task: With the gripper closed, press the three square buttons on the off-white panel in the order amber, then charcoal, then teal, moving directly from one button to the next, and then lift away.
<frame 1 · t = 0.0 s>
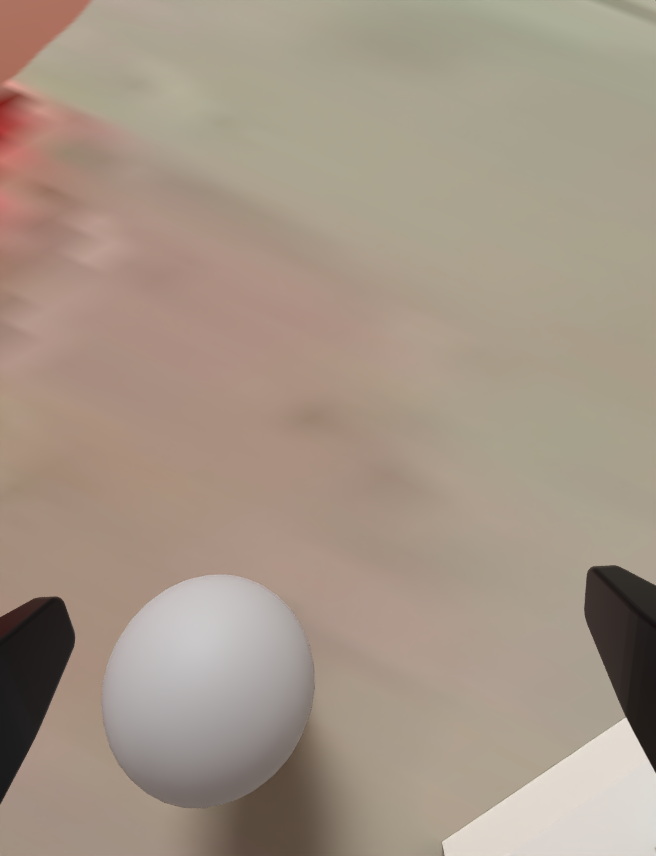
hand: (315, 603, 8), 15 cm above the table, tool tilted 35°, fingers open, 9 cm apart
lightbulb: (271, 632, 23), on the table
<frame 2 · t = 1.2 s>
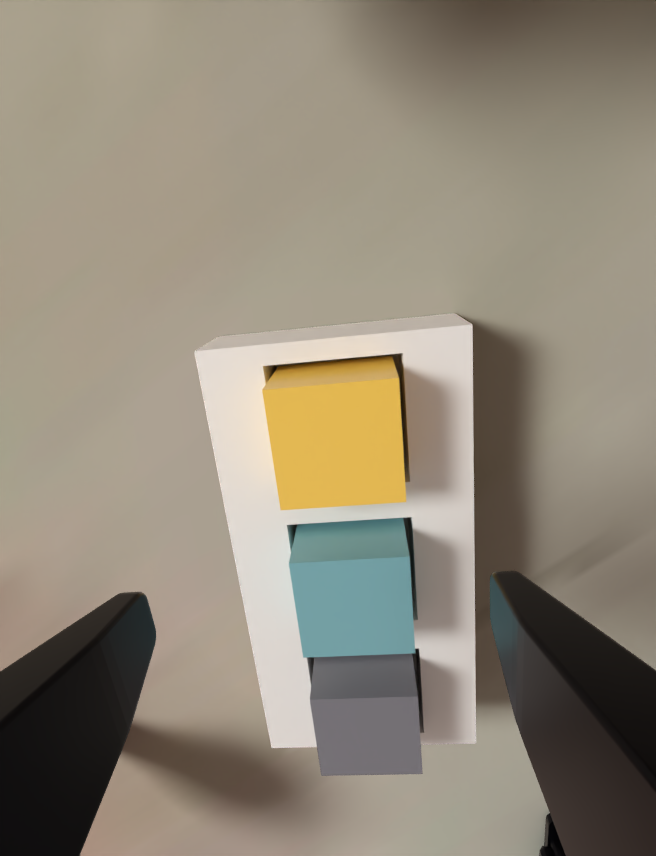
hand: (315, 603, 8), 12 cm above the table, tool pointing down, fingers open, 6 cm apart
teal button: (354, 580, 19), point 3 cm above the table, slide at 0.0 cm
button panel: (354, 531, 22), on the table
amber button: (338, 429, 17), point 3 cm above the table, slide at 0.0 cm
charcoal button: (366, 702, 20), point 3 cm above the table, slide at 0.0 cm
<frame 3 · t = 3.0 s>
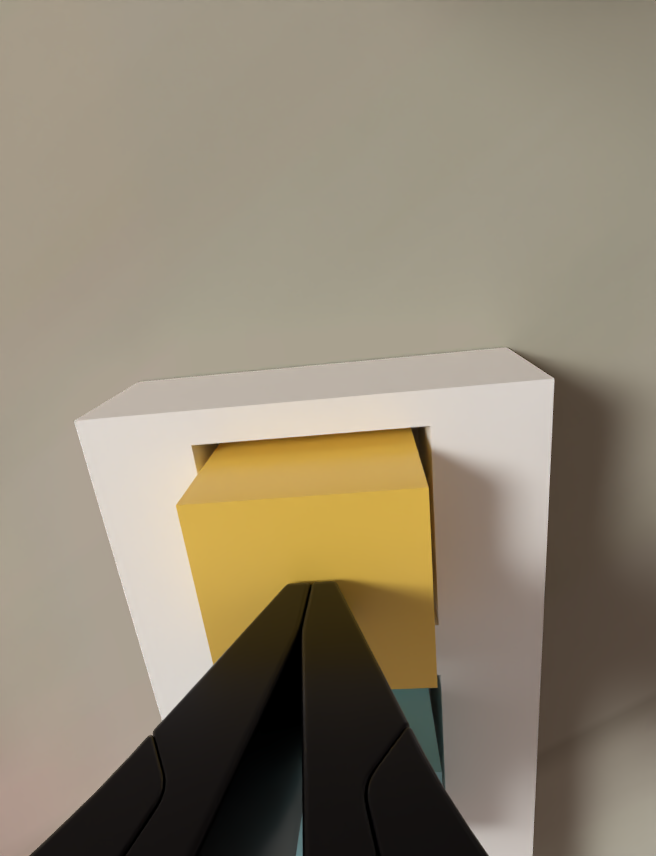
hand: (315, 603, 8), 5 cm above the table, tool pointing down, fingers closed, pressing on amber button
teal button: (348, 766, 12), point 3 cm above the table, slide at 0.0 cm
button panel: (350, 656, 15), on the table
amber button: (320, 548, 10), point 3 cm above the table, slide at 0.1 cm, touching gripper
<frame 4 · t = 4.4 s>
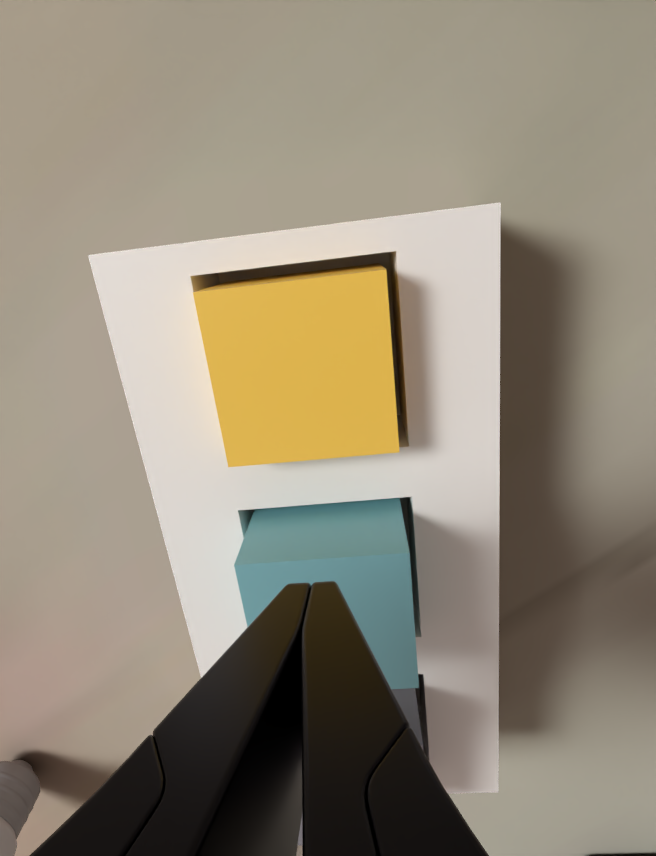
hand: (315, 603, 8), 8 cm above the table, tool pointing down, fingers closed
teal button: (333, 585, 13), point 3 cm above the table, slide at 0.0 cm
lightbulb: (25, 760, 22), on the table
button panel: (336, 519, 17), on the table
amber button: (307, 359, 12), point 2 cm above the table, slide at 1.0 cm
charcoal button: (354, 744, 15), point 3 cm above the table, slide at 0.0 cm
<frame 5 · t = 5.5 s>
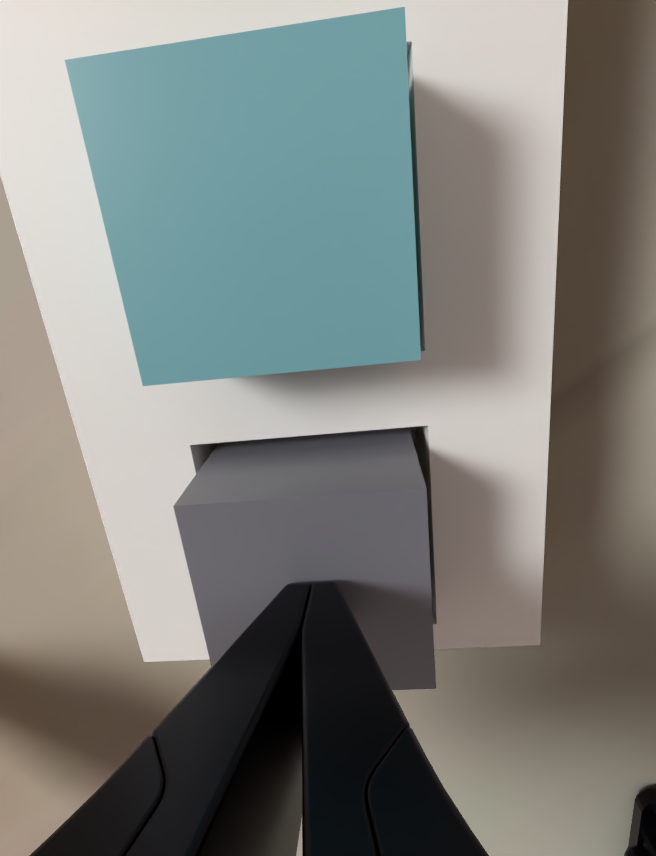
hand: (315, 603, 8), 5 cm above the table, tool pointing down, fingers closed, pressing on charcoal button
teal button: (275, 226, 8), point 3 cm above the table, slide at 0.0 cm
button panel: (299, 233, 11), on the table
charcoal button: (318, 548, 10), point 3 cm above the table, slide at 0.1 cm, touching gripper
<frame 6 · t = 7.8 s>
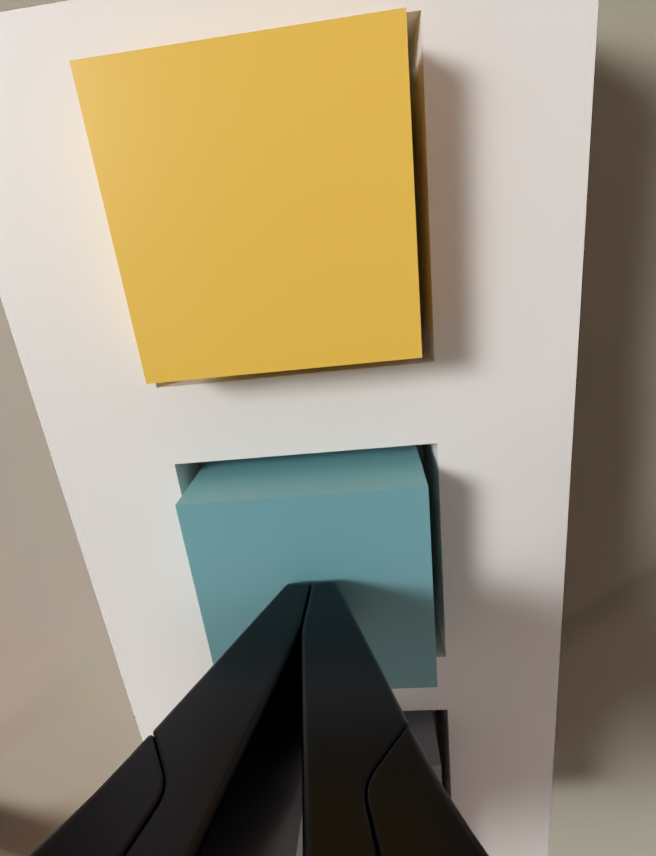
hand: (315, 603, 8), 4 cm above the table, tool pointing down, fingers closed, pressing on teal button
teal button: (320, 547, 10), point 2 cm above the table, slide at 1.0 cm, touching gripper
button panel: (327, 492, 12), on the table
amber button: (277, 225, 8), point 2 cm above the table, slide at 1.0 cm
charcoal button: (349, 761, 12), point 2 cm above the table, slide at 1.0 cm
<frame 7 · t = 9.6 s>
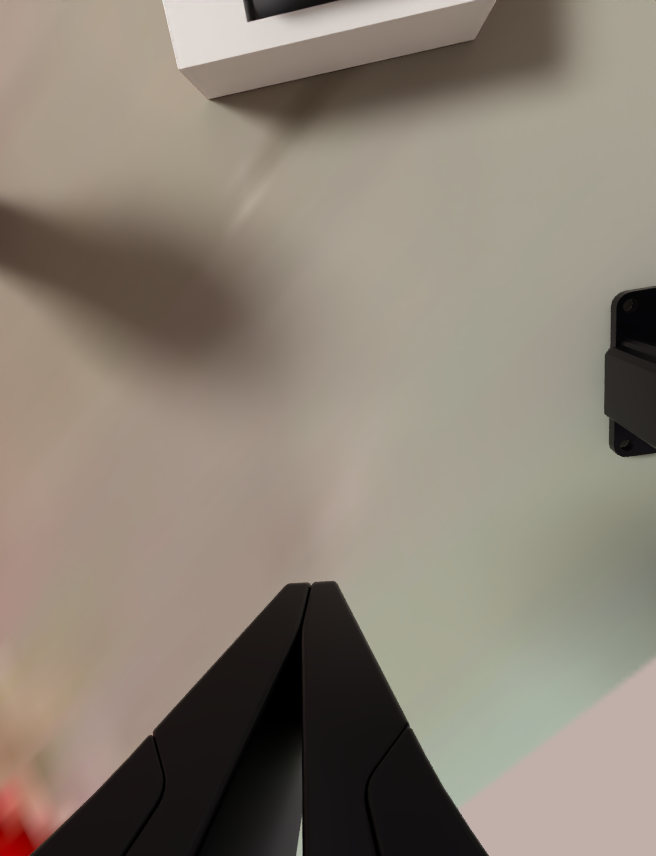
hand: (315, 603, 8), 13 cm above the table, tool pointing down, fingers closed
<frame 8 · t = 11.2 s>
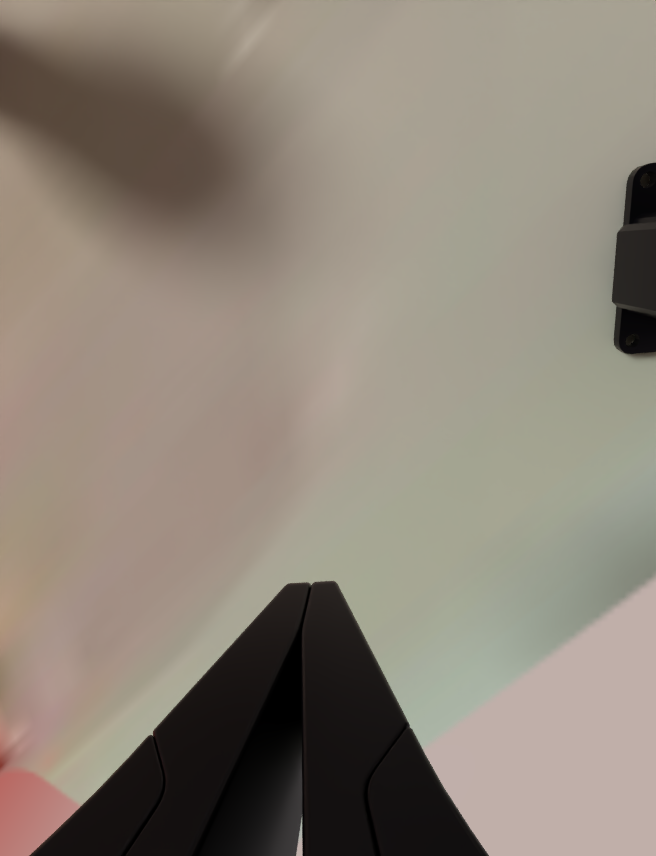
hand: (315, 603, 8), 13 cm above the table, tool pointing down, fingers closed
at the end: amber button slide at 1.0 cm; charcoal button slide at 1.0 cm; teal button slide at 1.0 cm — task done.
